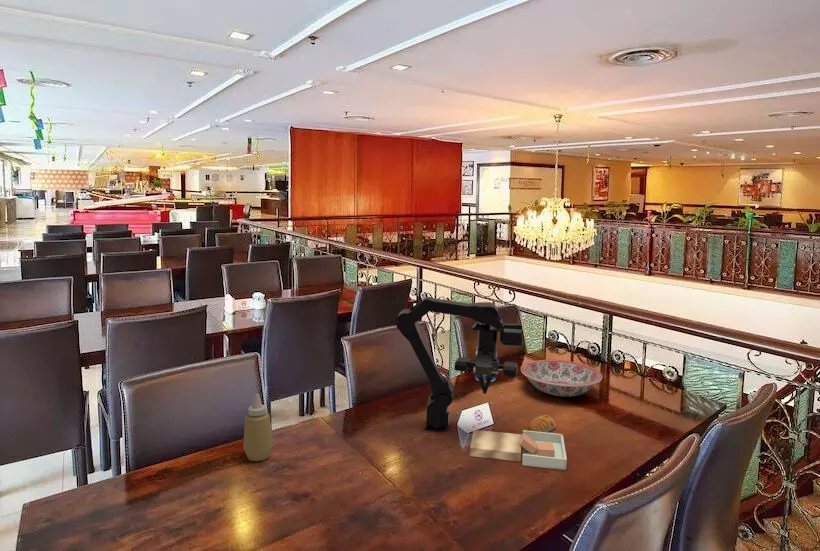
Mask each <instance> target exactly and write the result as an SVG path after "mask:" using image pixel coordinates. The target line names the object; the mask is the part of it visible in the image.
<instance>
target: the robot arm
mask: <svg viewBox="0 0 820 551" xmlns="http://www.w3.org/2000/svg"><path fill="white" fill-rule="evenodd" d="M430 312H431V313H437V314H444V315H451V316H457V317H458V316H459V317H464V318H467V319H470V320H473V321H475V322H476V323H474V324H473V325H471V326H472V331H477V343H478V349H477V348H476V350H477V356H476V355H475V361H470V360H471V359H470V357H464V356H463V357H462V356H459V357H457V358H456V360H455V362H454V371H456V372H457V371H458V372H465V371H466V370H468V368H469V369H473V372H472V374H473V376H475V375H476V376H477V377H478V379H479V381H478V382H479V384H480V386H481V390H482V393H483V394H485V395H486V394H487V392H488V389H489V387H490V384H491V383H492V382H491V380H492V379H493V377H496V378H497V377H498V374H499V372H502V373H503V375H504V376H505V377H513V378H515V377H517V374H518V363H516V362H512V361H504V364H500V359H498V358H497V357H496V351H497V350H496V347H497V348H498V345H497V344H498V343H501V344H502V346H503V347H504V346H505V347H506V346H507V347H522V345H523V330H522V328H523V325H522V323H504V321H503V319H502V318H501V317H500V315H499V310H498V307H497V306H496V305H495V303H493V302H490V301H482V302H480V301H479V302H473V303H471V302H469V303H468V302H461V301H454V300H448V299H441V298H435V297H432V296H426V297H424V298H423V299H422V300H420V301H419V302H417V303H416V304H415V305H413V306H412V307H410V308H405V309H402V310H401V311H400V312H399V314H398V315H397V317H396V319H395V325H396V328H397V329H398V331H399V332H400V334H401V335H402V336H403V337H404V338H405V339H406V340H407V341H408V342H409V344H410V347H412V350H413V351H414V353H415V355H416V358H417V360H418V362H419V363H420V364H419V365H421V367H422V369H423V371H424V373H425V376H426V377H427V380H428V381H429V385H430V390H431V394H430V395H429V396H428V401H427V405H426V418H425V419H426V421H425V422H426V423H425V424H426V425H425V427H424V429H425V430H428V431H437V432H446V431H447V429H448V428H449V425H450V411H449V406H451V404H452V403H453V401H454V399H453V398H454V392H455V390H454V389H455V385H454V384H453V383H452V381H451V378H450V376H449V375H447V376H444V375H443V374H442V373H441V371H440V370H439V367H438V365H437V363H436V361H435V359H434V357H433V355H432V354H431V351H430V350H429V348H428V346H427V344H426V342H425V339H424V338H423V336H422V334H421V329H420V323H419V320H421V319H422V318H423V317H424V316H425V315H427V314H428V313H430ZM485 375H486V376H487V380H486V382H485Z"/></svg>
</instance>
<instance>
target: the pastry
mask: <svg viewBox="0 0 820 551" xmlns="http://www.w3.org/2000/svg"><path fill="white" fill-rule="evenodd" d="M556 427H557V425H556V423H555V421H554V418H553V417H552V416H550V415H547V414H545V415H543V414H541V415H540V416H538V417H535V418H532V420H531V422H529V425H528V429H527V430H528V431H536V432H546V433H550V432H551V431H554V430H555V429H556Z"/></svg>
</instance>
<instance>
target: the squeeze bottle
mask: <svg viewBox="0 0 820 551" xmlns="http://www.w3.org/2000/svg"><path fill="white" fill-rule="evenodd" d="M243 432H244V433H243V445H242V448H243V450H244V452H245V455H246V457H247V459H248V461H252V462H261V461H264V460H266V459H268V458H269V457H270V454H271V452H272V450H273V446H274V440H273V438H274V437H273V432H272V424H271V417H270V414H269V413H268V412H267V406H266V405H265V404H262V401H261V396H260V394H259V393H254V397H253V402H252V405H249V407H248V414H247V415H246V416H245V417H244V430H243Z"/></svg>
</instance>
